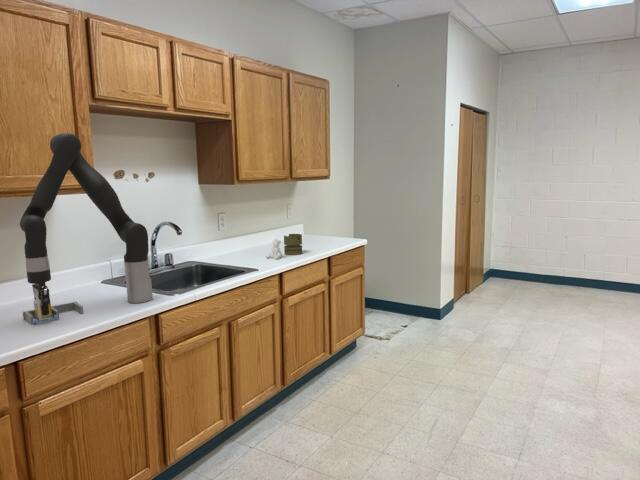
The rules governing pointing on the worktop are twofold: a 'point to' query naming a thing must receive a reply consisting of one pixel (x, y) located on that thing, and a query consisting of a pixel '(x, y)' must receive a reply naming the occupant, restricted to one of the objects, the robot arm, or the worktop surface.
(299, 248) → the olive green ridged block
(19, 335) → the worktop surface
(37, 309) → the supplement bottle
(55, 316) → the light blue flat bar
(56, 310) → the grey two-tier shelf
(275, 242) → the seated beast figurine
